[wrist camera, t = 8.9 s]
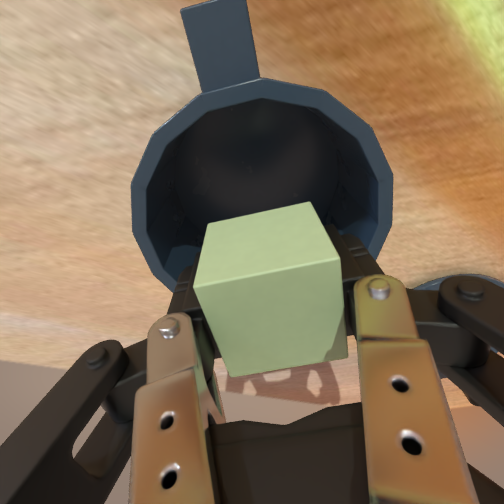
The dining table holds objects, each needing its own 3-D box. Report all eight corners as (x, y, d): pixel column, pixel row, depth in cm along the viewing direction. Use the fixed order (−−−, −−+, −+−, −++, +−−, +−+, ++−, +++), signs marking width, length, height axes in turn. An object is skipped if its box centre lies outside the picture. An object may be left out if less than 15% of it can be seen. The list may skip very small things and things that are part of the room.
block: (310, 200, 11) (340, 257, 8) (321, 284, 13) (349, 358, 10) (207, 222, 11) (191, 287, 8) (233, 301, 13) (230, 379, 10)
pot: (335, -6, 16) (400, -61, 9) (351, 266, 25) (390, 334, 18) (117, 55, 17) (39, 43, 10) (208, 294, 26) (197, 367, 19)
